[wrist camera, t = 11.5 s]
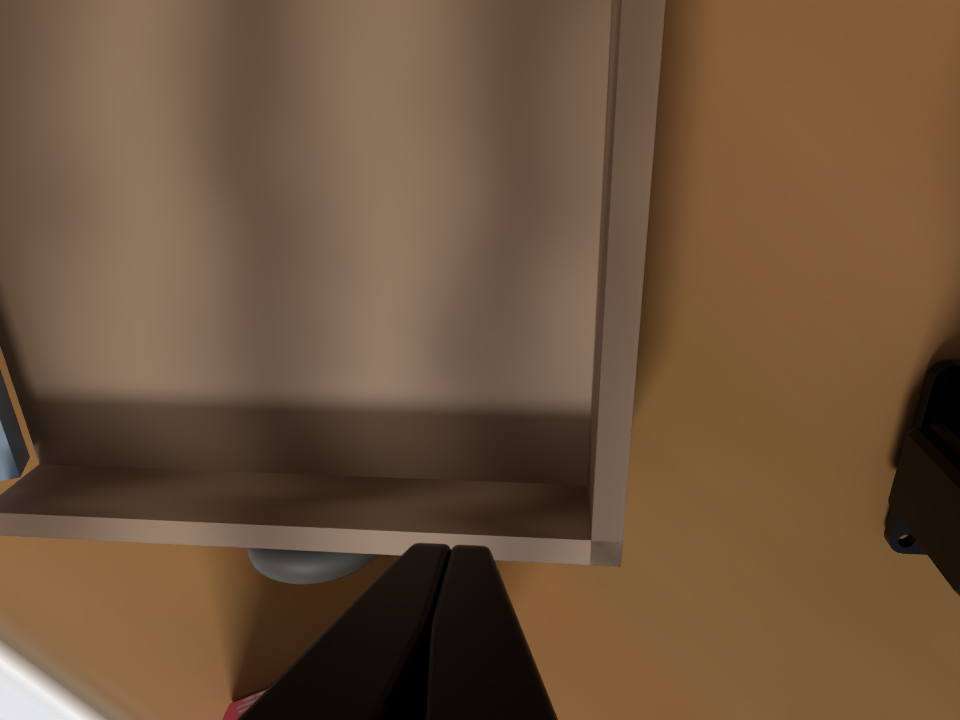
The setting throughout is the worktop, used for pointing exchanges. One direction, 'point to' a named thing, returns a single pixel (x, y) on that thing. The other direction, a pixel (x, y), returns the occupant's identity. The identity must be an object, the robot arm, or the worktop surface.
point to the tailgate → (10, 439)
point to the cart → (326, 272)
